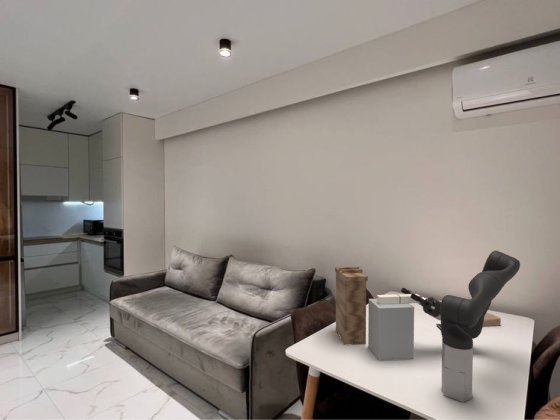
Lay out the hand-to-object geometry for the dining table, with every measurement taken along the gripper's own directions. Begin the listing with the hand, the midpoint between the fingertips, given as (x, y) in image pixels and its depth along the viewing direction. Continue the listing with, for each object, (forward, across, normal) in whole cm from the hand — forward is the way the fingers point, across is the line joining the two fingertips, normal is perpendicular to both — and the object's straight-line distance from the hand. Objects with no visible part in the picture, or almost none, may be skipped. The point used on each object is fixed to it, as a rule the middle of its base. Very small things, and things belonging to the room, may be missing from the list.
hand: (406, 292), depth 135 cm
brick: (-61, -26, -4) cm, 66 cm away
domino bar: (+1, 0, +6) cm, 6 cm away
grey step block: (-7, 0, +26) cm, 27 cm away
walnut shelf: (+4, -17, +33) cm, 37 cm away
